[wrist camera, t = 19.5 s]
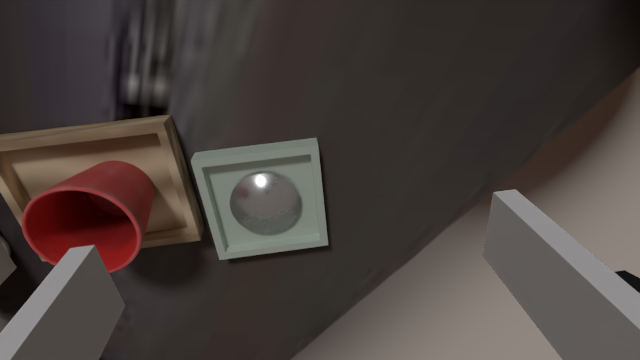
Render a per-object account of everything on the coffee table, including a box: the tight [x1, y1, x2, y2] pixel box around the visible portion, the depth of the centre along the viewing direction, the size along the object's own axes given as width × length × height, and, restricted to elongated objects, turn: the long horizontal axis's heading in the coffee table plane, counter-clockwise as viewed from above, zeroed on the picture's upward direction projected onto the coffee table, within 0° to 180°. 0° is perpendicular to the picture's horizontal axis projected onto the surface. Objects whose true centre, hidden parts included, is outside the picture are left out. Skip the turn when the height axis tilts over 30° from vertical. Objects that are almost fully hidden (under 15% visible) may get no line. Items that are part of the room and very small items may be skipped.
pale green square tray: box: [191, 138, 328, 260], centre depth 46 cm, size 15×15×2 cm
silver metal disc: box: [230, 171, 300, 233], centre depth 46 cm, size 9×9×1 cm
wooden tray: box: [0, 115, 205, 261], centre depth 43 cm, size 16×20×3 cm
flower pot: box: [22, 160, 154, 273], centre depth 39 cm, size 11×11×10 cm
